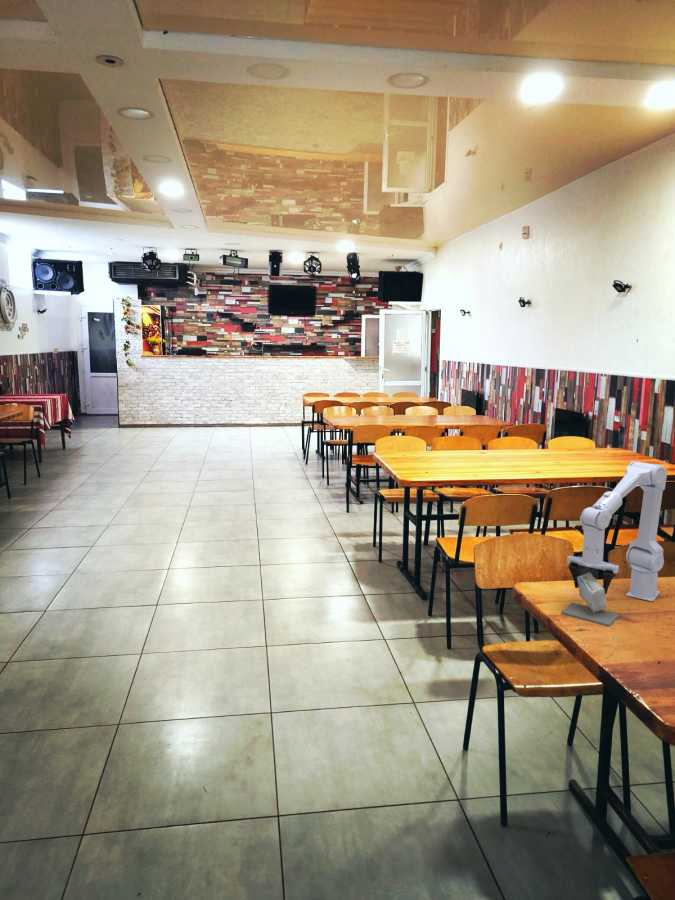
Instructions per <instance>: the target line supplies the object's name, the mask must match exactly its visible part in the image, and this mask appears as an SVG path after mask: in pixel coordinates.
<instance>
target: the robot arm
mask: <svg viewBox="0 0 675 900" xmlns="http://www.w3.org/2000/svg"><path fill="white" fill-rule="evenodd" d="M624 473H625V475H624V476H623V477H622V479H621V480H620V481H619V482H618V484H617V485H616V486H615V487H614V488H613V489H612V491H605V492H604V493H603V494H602V496H601V497H599V499H597V501H596V502H595V503H594V504H593V505H592V506H589V507H586V508H584V509H583V510H582V512H581V515H580V516H579V522H580V523H581V527H582V532H583V540H582V541H583V542H582V556H573V555H568V556H567V558H566V563H567V564H568V566H567V567H568V570H569V572H570V574H571V576H572V580H573V585H574V588H575V589H579V587H578V581H577V577H578V576H581V572H582V571H581V570H582V567H587V568H592V569H595V570H601V571H603V573H602V580H603V581H602V582H603V585H602V587H603V588H604V591H605V595H607V594H608V590H609V587H610V584H611V582H612V581H613V579H614V577H615V575H616V574H617V573H619V567H620V566H619V565H617V564H613V563H610V562H606V561H604V550H605V549H604V545H605V531H606V530H605V529H606V528H608V527H609V526H610V522H611V519H612V518H613V514H615V513H616V511H617V510H619V508H620V507H621V506H622V505H623V498H624V497H626V496H627V495H628V494H629V493H630V492H631V491H633V490H634V489H635V488H636V487H637V486H639V487H640V489H642V491H643V495H642V501H641V502H642V505H641V511H640V518H639V524H638V525H639V526H638V532H637V538H636V539H634V540H631V541H630V542H629V547H628V549H627V550H626V555H625V558H626V562H627V563H628V564H629V567H630V568H631V573H630V575H631V576H630V588H629V591H628V592H627V593H625V596H627V597H630V598H635V599H640V600H643V601H644V600H645V601H648V602H654V601H655V599H656V598H657V597H658V596H659V595H660V594H661V591H660V590H658V580H659V579H658V576H659V575H658V572H660V571H661V570H662V568H663V566H664V564H665V558H664V548H663V547H662V546H661V544H659V543H658V541H657V534H658V527H659V520H660V512H661V506H662V499H663V492H664V491H665V489H666V482H667V478H668V477H667V476H668V471H667V469H666V468H665V467H664V465H661V464H654V463H648V462H642V461H637V460H633V461H631V462H630V463H629V464H628V465H627V467H626V468H625V471H624Z"/></svg>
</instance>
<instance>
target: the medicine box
mask: <svg viewBox="0 0 675 900" xmlns="http://www.w3.org/2000/svg"><path fill="white" fill-rule="evenodd" d="M577 581H578V592H579V596H580V598H581V599H582V600H583V601H584V602H585V604H586V606H588V607H590V609H591V610H592V611H593V612H597V611H599V610H604V609H606V608H607V599H606V594H605V591H604V588H603V585H601V583H600V582H599V581H598V580H597V579H596V577H595V576H594V575H593V574H592V573H591V572H590V571H589V572H587V573H584V574H580V576H578V577H577Z"/></svg>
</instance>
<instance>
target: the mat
mask: <svg viewBox="0 0 675 900" xmlns="http://www.w3.org/2000/svg"><path fill="white" fill-rule="evenodd" d="M560 614H561V615H565V616H568V617H572V618H576V619H579V620H583V621H587V622H590V623H594V624H598V625H603V626H605V627H611V626H612V624H613V623H614V622H615V621H616V620H617V619H618V618H619V617H620V614H618V613H615V612H610V611H608V610H607V611H606V610H604V609H602V610H599V611H597V612H593V611H592V610H591V609H590V607H589V606H588V605H584V604H579V603H575V602H570V603H569V604H568V605H567V606H566V607H564V609H563V610H561V612H560Z"/></svg>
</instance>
